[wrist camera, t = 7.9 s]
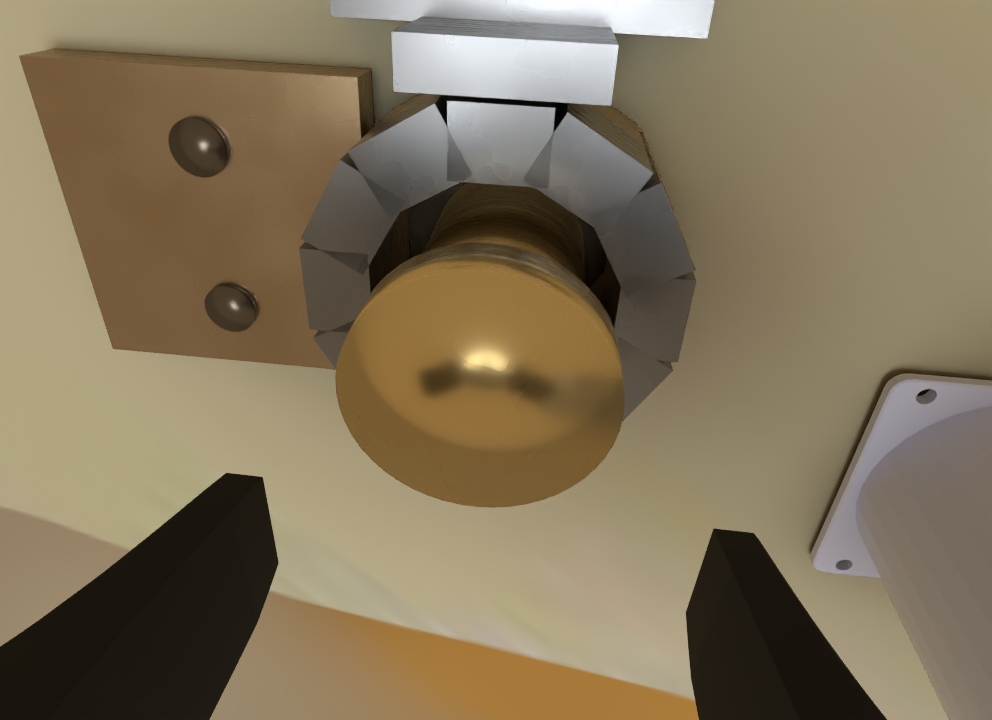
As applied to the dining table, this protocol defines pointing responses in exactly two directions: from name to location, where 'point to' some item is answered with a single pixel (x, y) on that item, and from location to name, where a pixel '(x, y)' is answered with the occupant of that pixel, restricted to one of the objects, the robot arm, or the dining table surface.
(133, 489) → the dining table surface
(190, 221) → the brown riveted plate
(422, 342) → the pin
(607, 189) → the dark piece
